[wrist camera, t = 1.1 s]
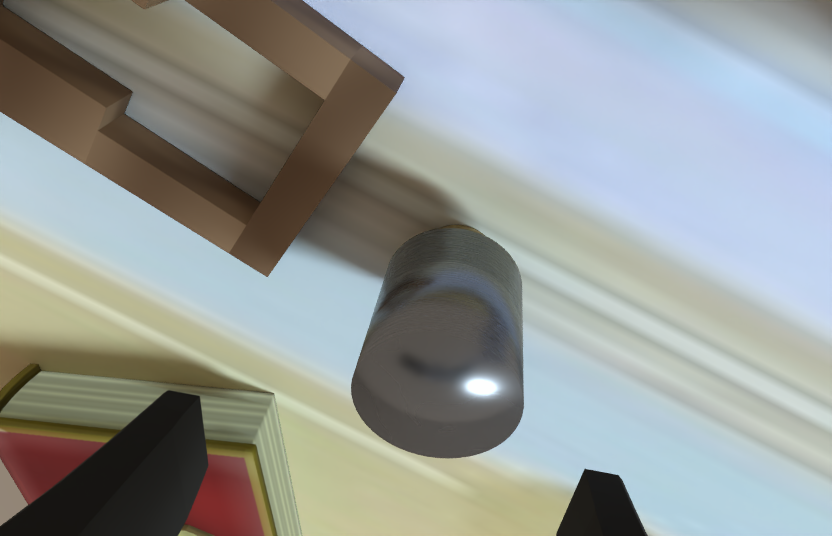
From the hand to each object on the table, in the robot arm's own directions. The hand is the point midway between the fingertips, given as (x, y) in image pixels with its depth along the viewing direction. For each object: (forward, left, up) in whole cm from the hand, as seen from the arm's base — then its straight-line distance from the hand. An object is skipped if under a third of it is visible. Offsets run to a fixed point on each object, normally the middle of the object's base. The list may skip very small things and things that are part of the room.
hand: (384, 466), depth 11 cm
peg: (-2, +1, -10) cm, 11 cm away
